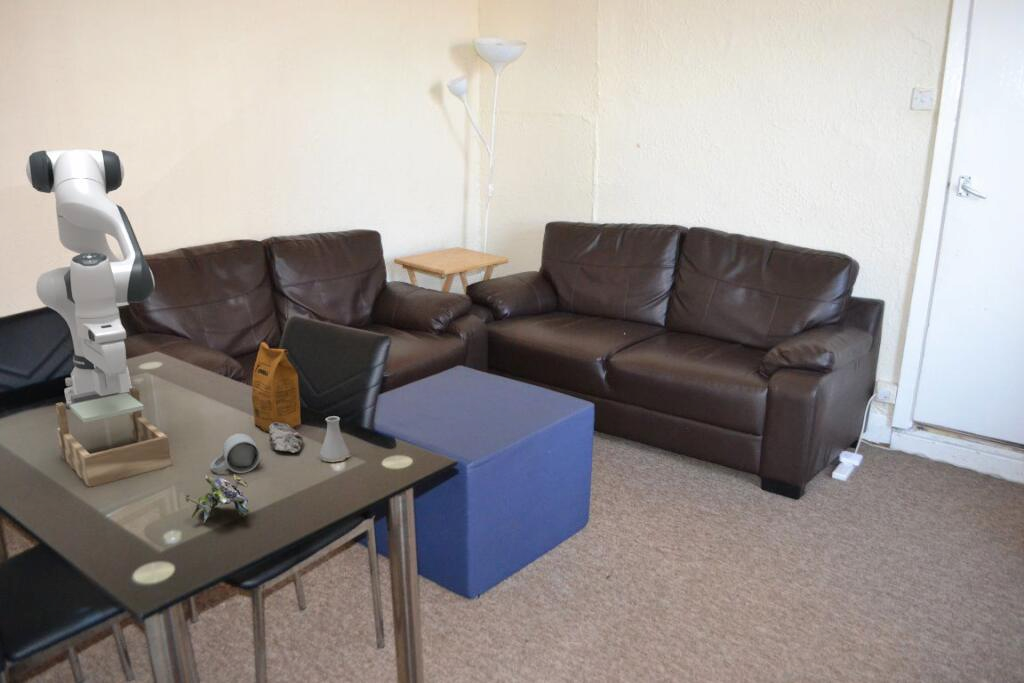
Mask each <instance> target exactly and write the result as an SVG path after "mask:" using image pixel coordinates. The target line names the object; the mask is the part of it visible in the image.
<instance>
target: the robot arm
mask: <svg viewBox="0 0 1024 683" xmlns="http://www.w3.org/2000/svg"><path fill="white" fill-rule="evenodd" d="M25 172H26V176H27V179H28V181H29V183H30V184H31V185H32V188H33V189H35V190H36V191H37V192H39V193H44V194H51V193H54V197H55V209H56V210H55V211H56V219H57V220H56V221H57V226H58V227H57V230H58V235H59V237H58V239H59V241H60V243H61V245H62V246H63V247H64V248H65V249H66V250H68V251H71V252H74V253H76V254H77V255H75V256H73V257H72V258H71V259H70V266H64V267H58V268H55V269H53V270H50V271H46V272H43V273H41V274H40V276H39V277H38V279H37V281H36V284H35V285H36V286H35V287H36V288H35V289H36V294H37V297H38V298H39V300H40V302H41V303H42V304H43V305H45V306H46V307H48V308H49V309H51V310H53V311H55V312H57V313H58V314H60V316H61V317H62V318H63V319H64V320H65V322H66V323H67V326H68V328H69V329H70V330H69V331H70V334H71V338H72V344H73V350H74V353H73V358H72V361H73V366H74V367H73V369H72V370H71V373H70V377H66V378H65V379H64V381H65V385H66V388H64V398H65V400H66V401H65V402H66V404H71V403H72V402H71V396H72V395H77V394H82V393H87V392H92V391H95V387H94V380H93V374H92V370H94V369H99V368H100V369H101V370H102V371H104V372H105V375H106V381H105V384H106V387H107V388H108V389H113V388H115V387H116V382H115V380H116V375H119V378H120V385H121V392H119V394H120V393H125V392H129V393H130V390H129V389H130V388H134V387H135V386H132V381H131V377H130V376H131V375H130V372H129V367H128V366H127V354H126V352H127V351H126V350H127V349H126V345H125V344H126V343H125V341H124V340H125V339H127V332H126V329H125V328H124V326H123V325H122V320H121V317H120V310H119V307H118V305H117V304H120V303H121V304H122V303H129V304H130V303H144V302H145V301H147V300H148V299H149V298H150V297H151V296H153V294H154V292H155V285H156V284H155V276H154V274H153V271H152V270H151V268H150V266H149V264H148V262H147V260H146V258H145V256H144V254H143V251H142V249H141V246H140V243H139V241H138V239H137V236H136V233H135V232H134V231H135V230H134V228H133V226H132V224H131V221H130V219H129V218H128V215H127V213H126V211H125V209H124V208H123V207H122V206H121V205H118V204H116V203H114V202H113V201H112V200H111V199H110V197H109V196H108V194H109V193H110V192H113V191H116V190H118V189H119V188H120V187H121V186H122V184H123V180H124V178H125V168H124V165H123V162H122V160H121V159H120V156H119V155H118V154H116V152H114V151H110V150H105V149H101V150H95V149H83V148H74V149H58V150H48V151H46V150H45V149H44V150H39V151H33V152H32V153H31V154H30V155H29V156H28V160H27V163H26V166H25ZM106 234H107V235H109V236H111V237H113V238H115V240H116V241H117V243H118V246H119V248H120V251H121V254H122V256H123V259H124V260H121V259H120V258H118V256H116V254H114V252H113V251H112V249H111V247H110V245H109V243H108V241H107V240H108V239H107V235H106Z"/></svg>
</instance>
